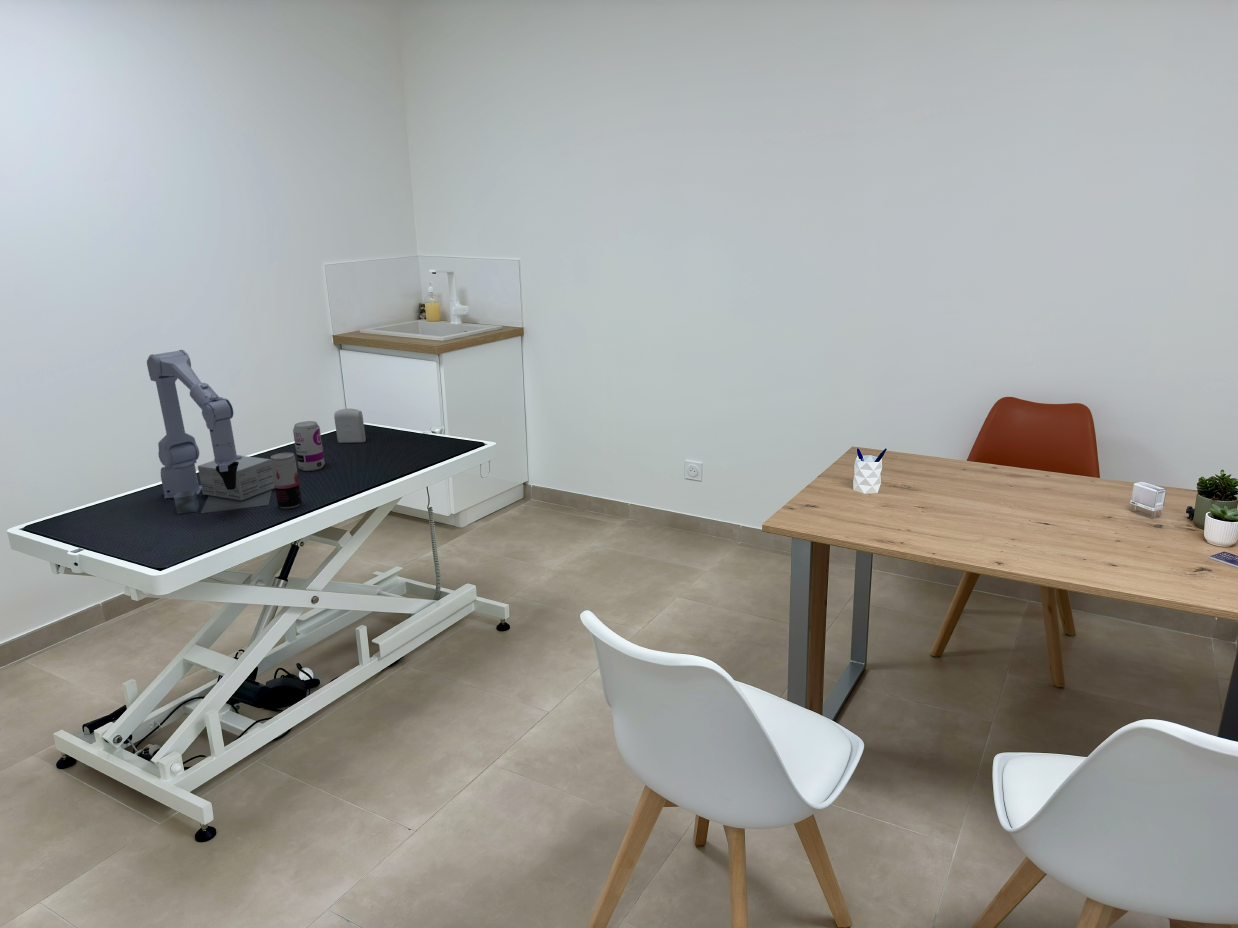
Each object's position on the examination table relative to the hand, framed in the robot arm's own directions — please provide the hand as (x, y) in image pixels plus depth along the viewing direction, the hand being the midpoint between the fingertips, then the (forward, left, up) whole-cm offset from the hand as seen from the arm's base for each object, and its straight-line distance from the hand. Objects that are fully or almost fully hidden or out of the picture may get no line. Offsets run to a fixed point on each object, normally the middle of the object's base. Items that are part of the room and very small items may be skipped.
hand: (231, 488), depth 240 cm
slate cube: (-13, +5, -7) cm, 15 cm away
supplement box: (0, +16, -6) cm, 17 cm away
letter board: (0, +11, -6) cm, 13 cm away
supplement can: (+20, +34, -7) cm, 40 cm away
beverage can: (+15, -2, -7) cm, 16 cm away
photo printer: (+33, +62, -7) cm, 71 cm away
